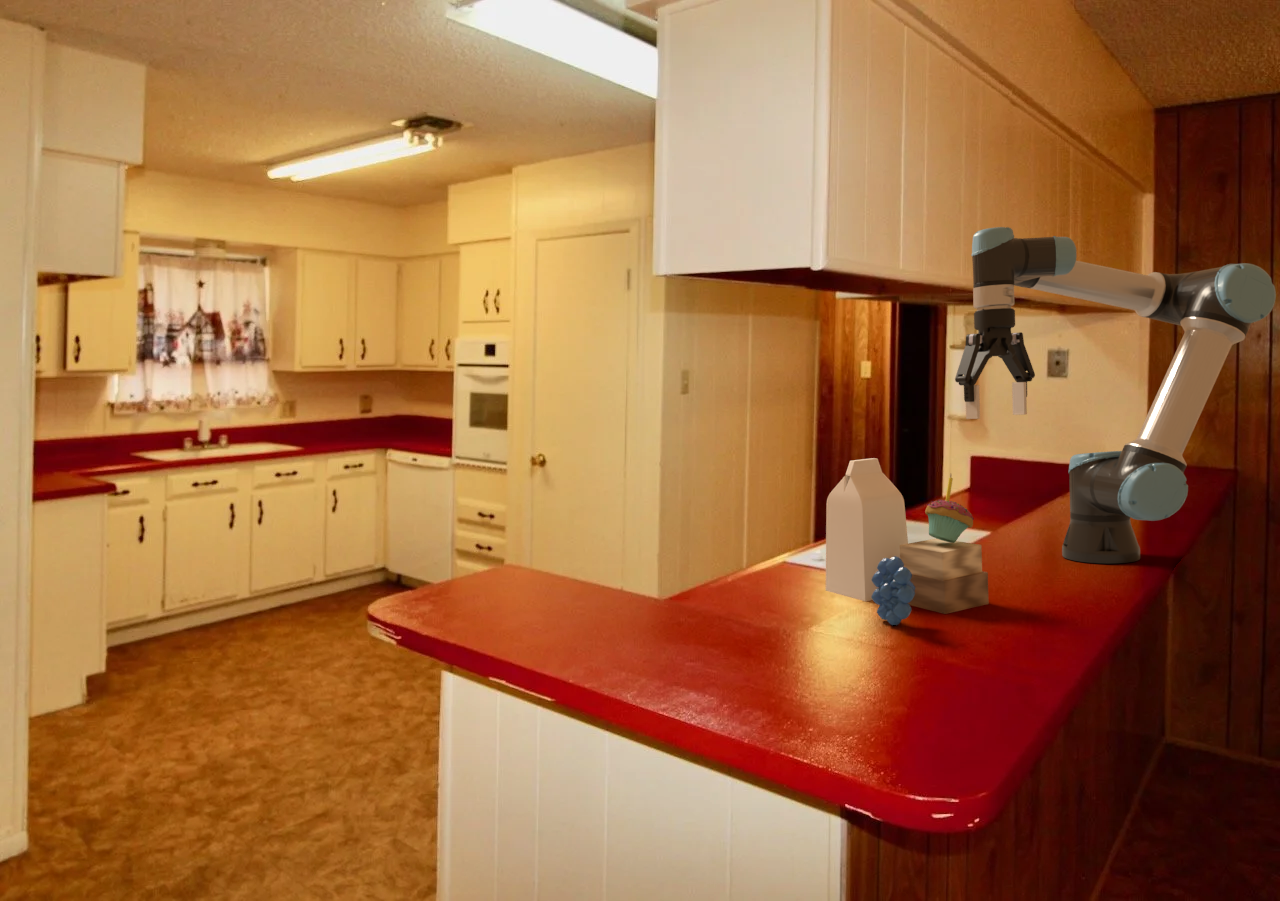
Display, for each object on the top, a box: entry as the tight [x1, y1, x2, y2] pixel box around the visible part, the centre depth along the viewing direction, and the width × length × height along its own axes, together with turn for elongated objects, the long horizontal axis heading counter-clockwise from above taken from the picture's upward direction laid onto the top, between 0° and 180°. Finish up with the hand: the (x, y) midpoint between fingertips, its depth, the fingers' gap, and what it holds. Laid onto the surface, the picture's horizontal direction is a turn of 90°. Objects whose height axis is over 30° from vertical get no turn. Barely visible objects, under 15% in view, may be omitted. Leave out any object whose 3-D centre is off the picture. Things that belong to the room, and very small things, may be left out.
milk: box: [825, 457, 909, 602], centre depth 173 cm, size 12×12×26 cm
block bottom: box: [908, 570, 989, 615], centre depth 162 cm, size 11×11×6 cm
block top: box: [900, 538, 983, 581], centre depth 162 cm, size 10×10×5 cm
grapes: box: [871, 556, 915, 626], centre depth 149 cm, size 12×7×12 cm, turn 14°
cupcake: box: [924, 473, 974, 543], centre depth 163 cm, size 9×8×12 cm
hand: (996, 416), depth 176 cm, fingers open, 13 cm apart
